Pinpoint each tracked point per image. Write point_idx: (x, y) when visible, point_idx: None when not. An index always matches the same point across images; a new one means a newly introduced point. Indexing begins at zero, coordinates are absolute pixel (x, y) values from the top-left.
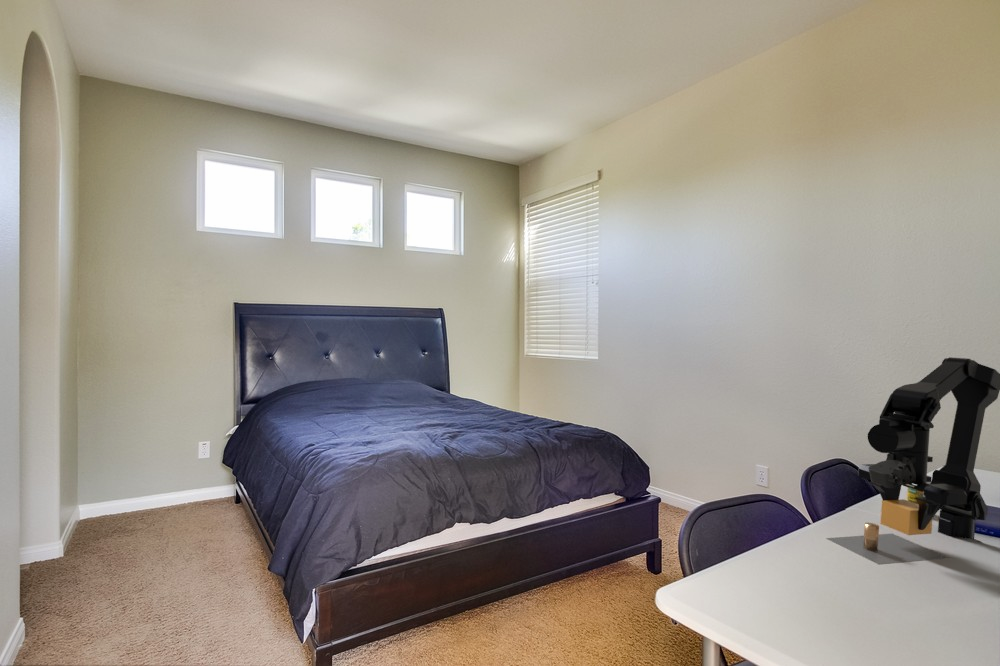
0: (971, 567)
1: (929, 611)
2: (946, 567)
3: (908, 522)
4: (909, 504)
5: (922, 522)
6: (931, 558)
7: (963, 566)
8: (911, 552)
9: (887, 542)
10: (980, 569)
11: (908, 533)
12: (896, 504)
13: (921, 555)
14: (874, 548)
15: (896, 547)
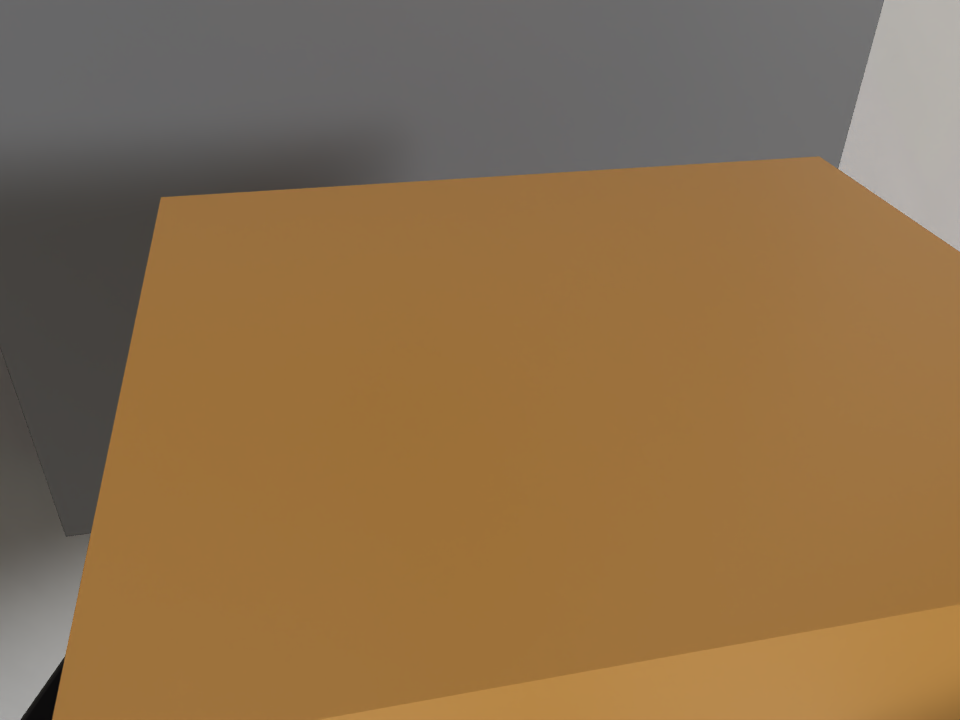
0: (46, 626)
1: None
2: (15, 398)
3: (156, 370)
4: None
5: (50, 679)
6: (11, 295)
7: (65, 578)
8: (229, 182)
9: (593, 137)
10: (5, 664)
11: (159, 213)
12: None
13: (115, 238)
14: None
15: (420, 110)
